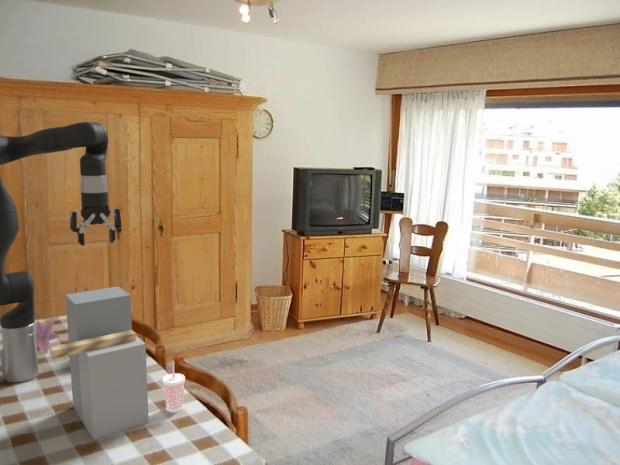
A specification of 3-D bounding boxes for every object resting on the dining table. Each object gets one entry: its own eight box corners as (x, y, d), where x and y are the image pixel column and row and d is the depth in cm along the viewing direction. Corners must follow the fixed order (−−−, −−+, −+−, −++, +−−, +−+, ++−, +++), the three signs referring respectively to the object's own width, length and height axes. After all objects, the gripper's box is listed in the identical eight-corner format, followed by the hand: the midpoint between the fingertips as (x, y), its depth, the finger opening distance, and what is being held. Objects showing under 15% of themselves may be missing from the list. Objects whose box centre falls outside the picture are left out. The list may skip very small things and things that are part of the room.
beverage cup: (166, 415, 144) (164, 367, 141) (161, 405, 149) (159, 358, 147) (188, 410, 147) (187, 363, 144) (182, 400, 152) (181, 355, 149)
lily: (21, 349, 188) (13, 332, 182) (49, 328, 196) (43, 311, 190) (43, 365, 184) (36, 348, 178) (71, 343, 192) (65, 326, 186)
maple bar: (53, 358, 126) (52, 351, 126) (50, 354, 129) (49, 347, 128) (136, 340, 138) (135, 333, 138) (132, 337, 141) (131, 329, 140)
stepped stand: (93, 439, 132) (86, 315, 126) (73, 406, 148) (65, 294, 142) (148, 422, 140) (143, 304, 135) (123, 392, 156) (118, 286, 150)
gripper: (72, 192, 150) (75, 248, 153) (122, 190, 159) (125, 243, 162) (65, 190, 156) (69, 244, 159) (114, 188, 165) (117, 239, 168)
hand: (97, 243), depth 161 cm, fingers open, 8 cm apart
